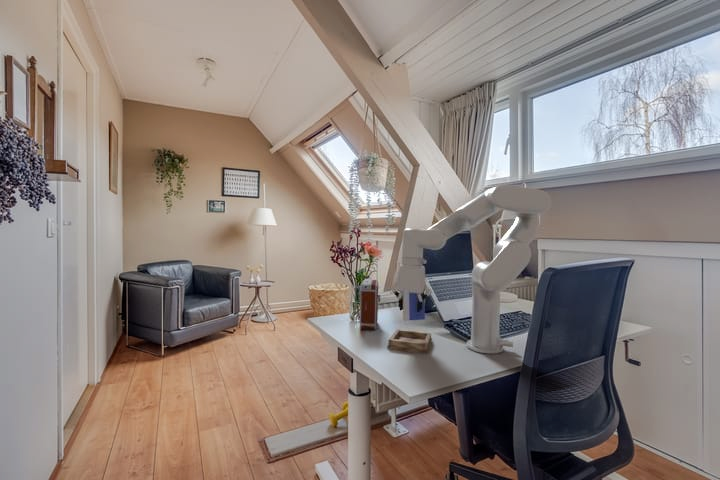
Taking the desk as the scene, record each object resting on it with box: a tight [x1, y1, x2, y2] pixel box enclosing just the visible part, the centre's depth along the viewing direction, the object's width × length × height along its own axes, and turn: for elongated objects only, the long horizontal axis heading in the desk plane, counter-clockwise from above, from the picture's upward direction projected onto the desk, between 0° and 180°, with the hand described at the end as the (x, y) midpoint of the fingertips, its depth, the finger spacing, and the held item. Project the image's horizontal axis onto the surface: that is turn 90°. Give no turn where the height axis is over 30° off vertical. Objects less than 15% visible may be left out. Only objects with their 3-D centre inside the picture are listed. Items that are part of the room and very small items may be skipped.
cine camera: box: [359, 278, 381, 331], centre depth 149 cm, size 9×19×20 cm, turn 174°
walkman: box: [402, 289, 426, 322], centre depth 124 cm, size 8×3×12 cm, turn 97°
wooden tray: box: [386, 328, 433, 355], centre depth 124 cm, size 14×14×3 cm
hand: (410, 310), depth 124 cm, fingers closed on walkman, 5 cm apart
